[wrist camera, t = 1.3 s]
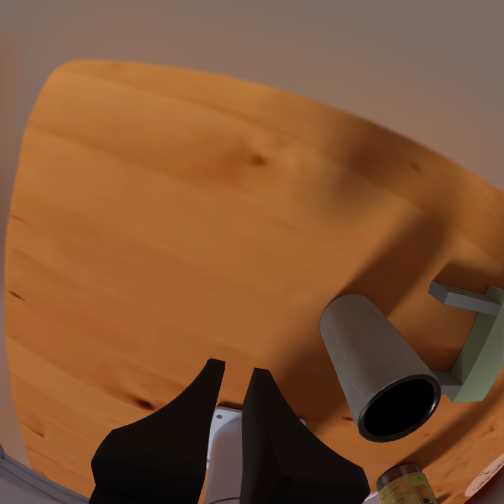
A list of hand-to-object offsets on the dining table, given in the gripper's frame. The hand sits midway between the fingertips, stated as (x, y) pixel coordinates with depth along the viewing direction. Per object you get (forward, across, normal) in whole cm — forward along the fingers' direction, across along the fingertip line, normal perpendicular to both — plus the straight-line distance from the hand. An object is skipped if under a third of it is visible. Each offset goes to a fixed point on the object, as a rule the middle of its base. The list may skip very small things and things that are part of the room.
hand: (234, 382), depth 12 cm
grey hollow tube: (+10, -8, 0) cm, 12 cm away
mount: (+9, -19, 0) cm, 21 cm away
